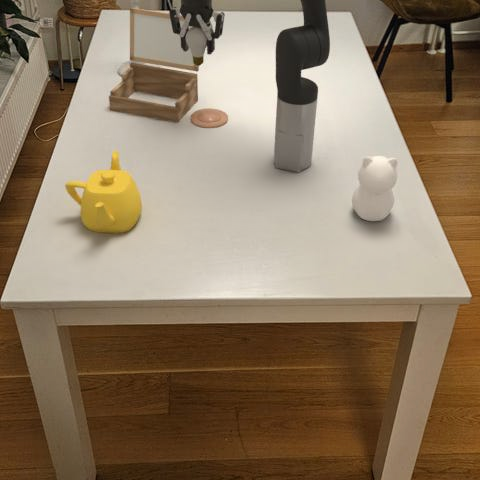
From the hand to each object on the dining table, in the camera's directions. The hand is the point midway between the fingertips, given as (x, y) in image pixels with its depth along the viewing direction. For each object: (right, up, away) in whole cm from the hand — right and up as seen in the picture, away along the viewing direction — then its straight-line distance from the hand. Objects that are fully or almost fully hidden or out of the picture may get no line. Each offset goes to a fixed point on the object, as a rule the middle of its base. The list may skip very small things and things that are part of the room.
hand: (198, 51), depth 177 cm
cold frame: (-13, -10, +17) cm, 24 cm away
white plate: (-20, +3, +35) cm, 40 cm away
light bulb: (0, -3, +2) cm, 4 cm away
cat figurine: (+39, -41, -22) cm, 61 cm away
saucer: (+2, -15, +11) cm, 19 cm away
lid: (-10, +7, +13) cm, 18 cm away
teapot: (-18, -43, -26) cm, 53 cm away
